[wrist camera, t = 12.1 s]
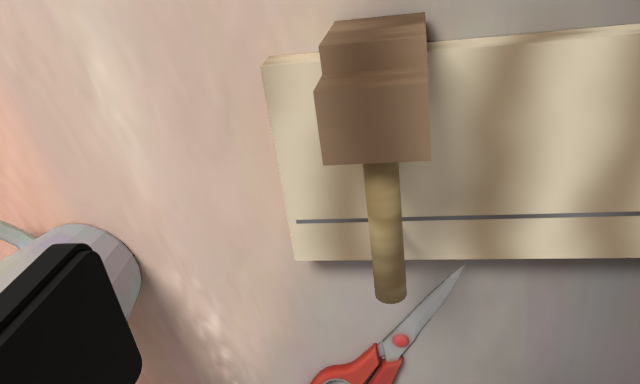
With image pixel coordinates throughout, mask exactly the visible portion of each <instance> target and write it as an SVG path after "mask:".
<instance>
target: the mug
mask: <svg viewBox="0 0 640 384" xmlns="http://www.w3.org/2000/svg"><path fill="white" fill-rule="evenodd" d="M0 239H1V240H4V241H6V242H8V243H10V244H12V245H14V246H16V247H18V248H19V250H18V251H16V252H14V253H13V254H11V255H9V256H8V257H6V258H5V259H3V260H1V261H0V293H1V292H2V291H3V290H4V289H5V288H6V287H7V286H8V285H9V284H10V283H11V282H12V281H13V280H14V279H15V278H16V277H18V276H19V275H20V274H21V273H22V272H23V271H24V270H25V269H26V268H27V267H28V266H29V265H30V264H31V263H32V262H33V261H34V260H35V259H36V258H37V257H38V256H40V255H41V254H42V253H43V252H44V251H45V250H46V249H47V248H48V247H50V246H51V245H53V244H59V243H84V244H88V245H89V246H90V247H91V248H92V250H93V251H95V252H97V253H98V254H99V255H100V257H101V259H102V261H103V264H104V266H105V269H106V271H107V274H108V276H109V279H110V281H111V284H112V286H113V289H114V291H115V293H116V296H117V298H118V301H119V303H120V306H121V308H122V311H123V313H124V316H125V318H126V321H127V320H128V318H129V315H130V313H131V311H132V309H133V306H134V304H135V302H136V300H137V297H138V295H139V291H140V287H141V274H140V269H139V266H138V264H137V262H136V260H135V258H134V256H133V254H132V253H131V252H130V251H129V250H128V249H127V247H126V246H125V245H124V244H123V243H122V242H121V241H120V240H118V239H117V238H115V237H114V236H112V235H111V234H109V233H108V232H106V231H104V230H102V229H99V228H96V227H94V226H91V225H85V224H77V223H73V224H67V225H62V226H57V227H55V228H54V229H52V230H50V231H49V232H47V233H45V234H44V235H42V236H40V237H38V238H36V237H34V236H32V235H31V234H29V233H28V232H26V231H24V230H22V229H20V228H18V227H16V226H14V225H11V224H9V223H6V222H4V221H1V220H0Z"/></svg>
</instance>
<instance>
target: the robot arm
mask: <svg viewBox="0 0 640 384" xmlns="http://www.w3.org/2000/svg"><path fill="white" fill-rule="evenodd" d="M141 368H142V359H141V355H140V353H139V350H138V348H137V345H136V343H135V340H134V338H133V335H132V333H131V330H130V328H129V326H128V323H127V321H126V318H125V316H124V313H123V311H122V308H121V306H120V303H119V301H118V298H117V296H116V293H115V291H114V289H113V286H112V284H111V281H110V279H109V276H108V274H107V271H106V269H105V266H104V264H103V261H102V259H101V257H100V255H99V254H98V253H97V252H95V251H93V250H92V248H91V247H90V246H89V245H88V244H84V243H59V244H53V245H51V246H50V247H48V248H47V249H46V250H45V251H44V252H43V253H42V254H41V255H40V256H38V257H37V258H36V259H35V260H34V261H33V262H32V263H31V264H30V265H29V266H28V267H27V268H26V269H25V270H24V271H23V272H22V273H21V274H20V275H19V276H18V277H16V278H15V279H14V280H13V281H12V282H11V283H10V284H9V285H8V286H7V287H6V288H5V289H4V290H3V291H2V292H1V293H0V384H135V383H136V381H137V379H138V378H139V375H140V373H141Z"/></svg>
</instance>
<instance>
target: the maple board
mask: <svg viewBox="0 0 640 384" xmlns="http://www.w3.org/2000/svg"><path fill="white" fill-rule="evenodd" d="M427 67H428V84H429V116H430V149H431V161H417V162H398V163H399V179H400V195H401V211H402V227H403V243H404V259H405V260H449V259H564V258H640V24H629V25H618V26H607V27H595V28H584V29H573V30H562V31H550V32H539V33H528V34H517V35H506V36H494V37H483V38H472V39H461V40H450V41H438V42H427ZM260 69H261V75H262V80H263V86H264V91H265V97H266V102H267V108H268V114H269V119H270V125H271V130H272V136H273V141H274V147H275V152H276V158H277V163H278V169H279V174H280V180H281V186H282V191H283V197H284V202H285V208H286V213H287V219H288V224H289V230H290V235H291V241H292V247H293V252H294V258H295V261H333V260H372V255H371V244H370V234H369V224H368V214H367V204H366V193H365V183H364V173H363V164H351V165H328V166H323V161H322V154H321V147H320V139H319V132H318V125H317V117H316V110H315V103H314V95H313V91H314V89H315V87H316V85H317V83H318V81H319V80H320V78H321V76H322V69H321V61H320V54H319V52H315V53H304V54H292V55H281V56H270V57H269V58H268V59H267V60H266V61H265V62H264V63H263V64H262V65H261V66H260Z"/></svg>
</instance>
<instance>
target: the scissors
mask: <svg viewBox="0 0 640 384" xmlns="http://www.w3.org/2000/svg"><path fill="white" fill-rule="evenodd" d="M464 266H465V264H464V265H463V266H462V267H460V268H459V269H457V270H456V271H455V272H454V273H453V274H451V275H450V276H449V277H448V278H447V279H446V280H444V281H443V282H442V283H441V284H440V285H439V286H438V287H437V288H436V289H434V290H433V291H432V292H431V293H430V294H429V295H428V296H427V297H426V298H425V299H424V300H423V301H422V302H421V303H420V304H419V305H418V306H417V307H416V308H415V309H414V310H413V311H412V312H411V313H410V314H409V315H408V316H407V317H406V318H405V319H404V320H403V321H402V322H401V323H400V324H399V325H398V326H397V327H396V328H395V329H394V330H393V331H392V332H391V333H390V334H389V335H388V336H387V337H385V338H384V339H383V340H382V341H381V342H380V343H379V344H377V343H374V344H373V345H372V346H371V347H370V348H369V349H368V350H367V351H366V352H364V353H363V354H362V355H361V356H360V357H359V358H357V359H356V360H354V361H352V362H350V363H348V364H342V365H333V366H329V367H327V368H324V369H323V370H321V371H320V372H319V373H318V374H317V375H316V377H315V378H314V379H313V381H312V382H311V383H310V384H326V383H328V382H330V381H333V380H339V381H343V382H346V383H347V384H364V382H365V381H366V380H367V379H368V377H369V376H370V375H371V374H372V372H373V371H374V370H375V369H376V367H377V366H378V367H377V369H376V370H375V372H374V374H373V375H372V376H371V378H370V380H369V381H368V383H367V384H392V383H393V381H394V379H395V377H396V374H397V372H398V370H399V368H400V366H401V364H402V361H403V356H402V354H403V353H404V351H405V350H406V349H407V348H408V346H409V345H410V344H411V343H412V342H413V341H414V340H415V338H416V336H417V334H418V333H419V332H420V330H421V329H422V328H423V327H424V326H425V324H426V323H427V322H428V321H429V320H430V318H431V317H432V316H433V315H434V313H435V312H436V311H437V310H438V309H439V307H440V306H441V305H442V304H443V302H444V301H445V299H446V298H447V296H448V294H449V293H450V291H451V289H452V288H453V286H454V284H455V283H456V281H457V279H458V277H459V275H460V274H461V272H462V270H463V268H464ZM381 356H385V359H382V358H381Z"/></svg>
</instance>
